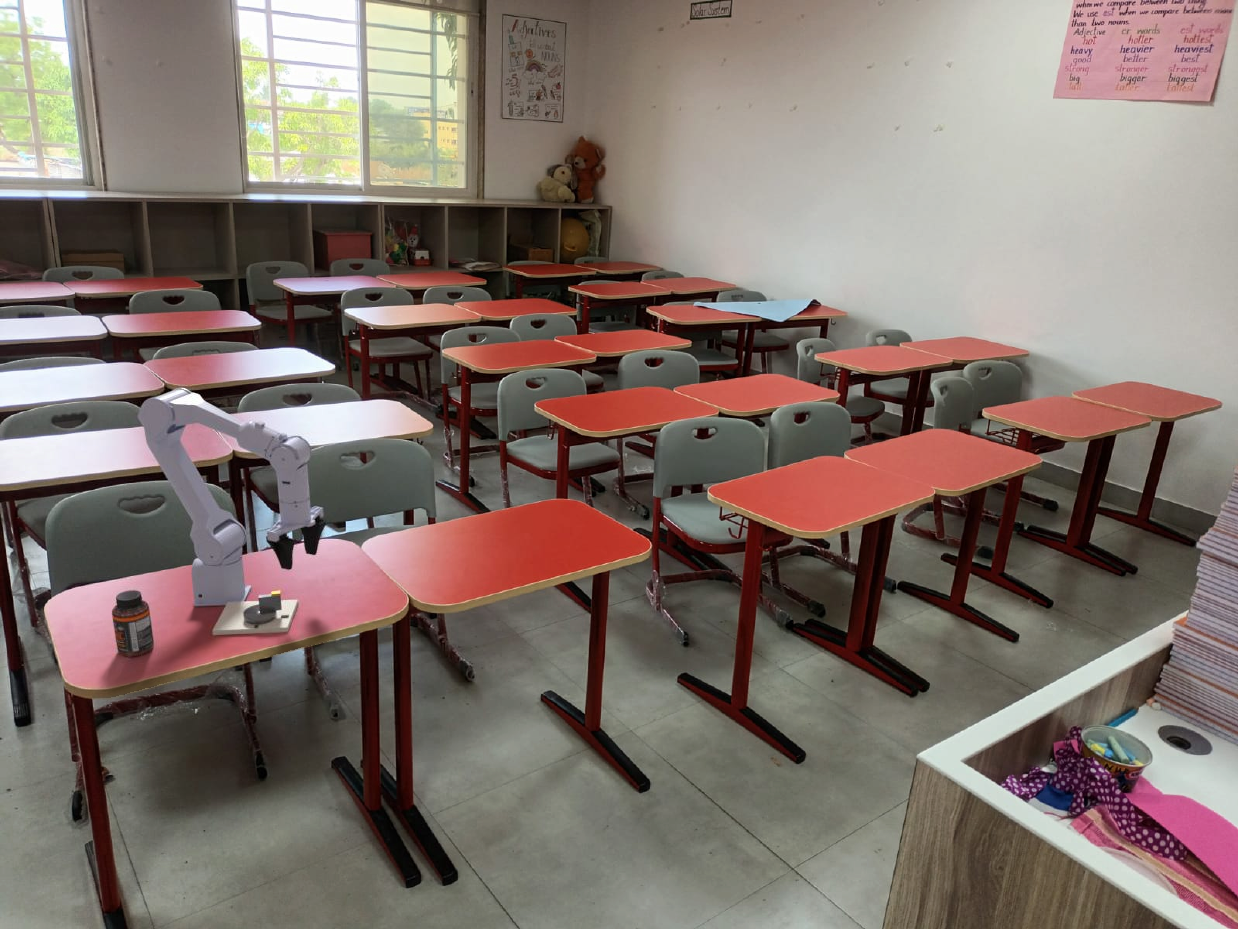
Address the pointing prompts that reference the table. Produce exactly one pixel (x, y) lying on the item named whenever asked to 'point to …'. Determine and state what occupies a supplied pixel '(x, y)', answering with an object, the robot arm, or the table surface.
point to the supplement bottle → (132, 624)
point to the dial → (264, 609)
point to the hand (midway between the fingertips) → (299, 561)
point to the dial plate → (235, 624)
